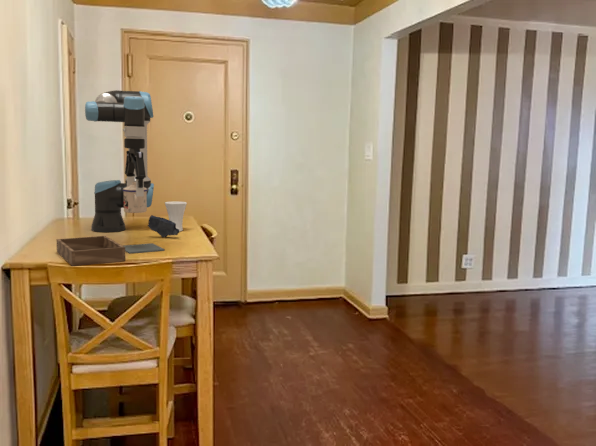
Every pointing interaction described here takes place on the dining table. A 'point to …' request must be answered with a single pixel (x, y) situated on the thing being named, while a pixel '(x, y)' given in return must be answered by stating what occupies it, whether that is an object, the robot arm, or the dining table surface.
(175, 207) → the cup
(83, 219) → the dining table surface
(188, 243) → the dining table surface
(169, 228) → the stone
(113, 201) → the robot arm
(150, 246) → the mat
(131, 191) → the teacup with lid
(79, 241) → the dark brown tray
